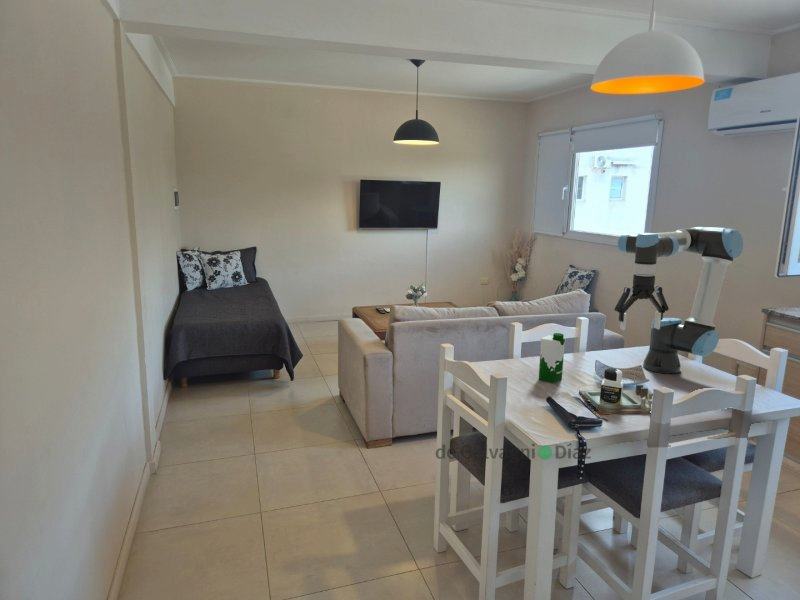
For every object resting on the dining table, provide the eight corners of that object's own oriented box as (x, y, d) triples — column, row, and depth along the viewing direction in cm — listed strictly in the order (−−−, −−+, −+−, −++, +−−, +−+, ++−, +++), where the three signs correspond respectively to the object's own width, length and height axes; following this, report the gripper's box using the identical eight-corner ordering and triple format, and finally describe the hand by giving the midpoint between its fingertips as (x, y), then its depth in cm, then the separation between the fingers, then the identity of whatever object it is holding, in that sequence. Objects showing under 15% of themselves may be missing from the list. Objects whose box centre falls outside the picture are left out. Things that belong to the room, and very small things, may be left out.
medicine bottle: (599, 402, 199) (602, 371, 196) (601, 395, 205) (604, 365, 203) (620, 405, 196) (623, 374, 193) (621, 399, 202) (624, 368, 200)
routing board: (648, 393, 213) (649, 382, 212) (676, 413, 193) (678, 401, 192) (578, 393, 211) (579, 382, 210) (600, 413, 191) (601, 402, 190)
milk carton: (555, 384, 220) (559, 337, 216) (535, 379, 226) (538, 333, 222) (564, 379, 227) (568, 333, 223) (544, 374, 232) (547, 329, 228)
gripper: (670, 272, 208) (665, 325, 212) (607, 273, 206) (603, 327, 211) (682, 275, 200) (676, 330, 205) (616, 276, 199) (612, 332, 203)
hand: (639, 329), depth 208 cm, fingers open, 13 cm apart
